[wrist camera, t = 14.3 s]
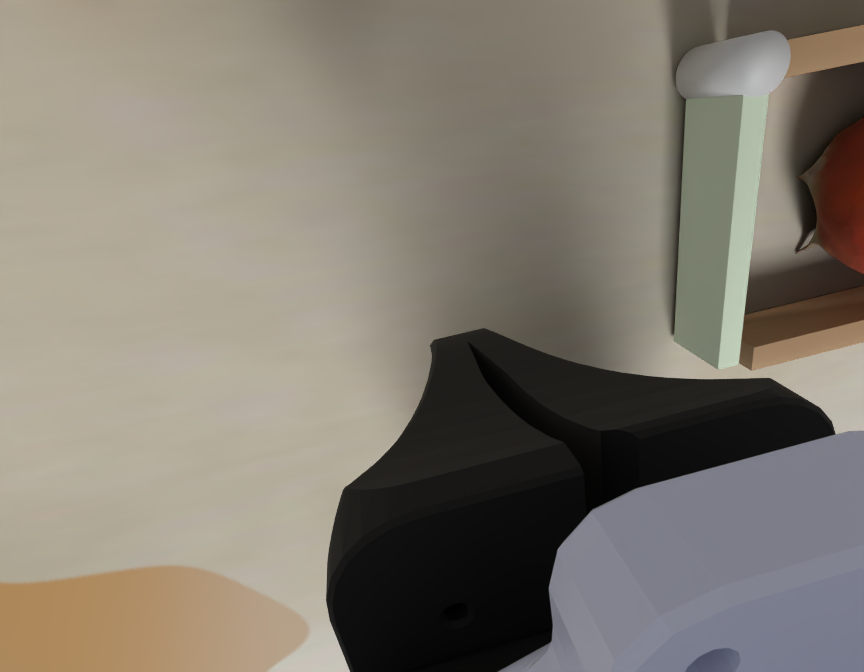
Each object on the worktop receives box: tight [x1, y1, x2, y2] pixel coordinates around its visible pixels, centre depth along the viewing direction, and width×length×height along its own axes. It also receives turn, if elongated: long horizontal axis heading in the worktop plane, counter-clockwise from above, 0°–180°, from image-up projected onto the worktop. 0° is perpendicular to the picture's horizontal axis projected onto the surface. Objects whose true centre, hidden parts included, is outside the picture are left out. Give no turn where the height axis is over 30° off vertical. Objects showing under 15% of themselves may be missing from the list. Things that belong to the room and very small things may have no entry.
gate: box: [674, 30, 791, 369], centre depth 21 cm, size 13×2×3 cm, turn 9°
